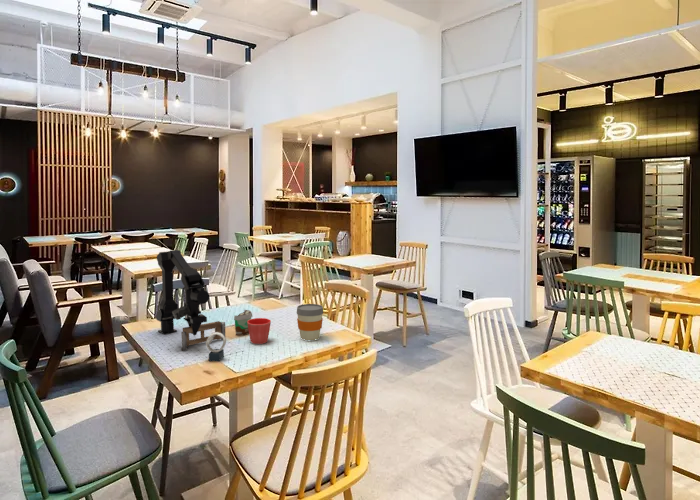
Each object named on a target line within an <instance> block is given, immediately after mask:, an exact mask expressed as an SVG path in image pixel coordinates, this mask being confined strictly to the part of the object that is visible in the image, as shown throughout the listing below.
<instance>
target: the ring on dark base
mask: <svg viewBox="0 0 700 500" xmlns="http://www.w3.org/2000/svg"><path fill="white" fill-rule="evenodd" d="M215 335H219V336H221V337H222V338H223V340H222V341H223V342H222V344H221V346H220V348H218V349H217V348H215V349H214V348H212V346H211V343H212V342H213V341H214V340H213V339H214V337H215ZM225 336H226V335H225ZM225 336H224V335H223V334H222V333H219V332H215V331H214V332H212V333H210V334H209V337H208V336H207V337H208V339H207V341H206V342H205V345H206V348H207V350H208V351H210V352H209V353H208V361H209V362H221V360H222V359H223V358H224V357H225V352H224V351H225V349H224V348H225V346H226V344H227V339H226V338H225Z"/></svg>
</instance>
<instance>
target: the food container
mask: <svg viewBox="0 0 700 500" xmlns="http://www.w3.org/2000/svg"><path fill="white" fill-rule="evenodd" d="M252 318H253V313H252V311H251V310H248V309H244V310H243V312H240V313H239V314H237V315H234V318H233V320H234V328H235V329H234V330H235V331H234V332H235V336H245V335H249V331H248V324H247V321H248V320H250V319H252Z"/></svg>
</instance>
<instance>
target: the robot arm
mask: <svg viewBox="0 0 700 500" xmlns="http://www.w3.org/2000/svg"><path fill="white" fill-rule="evenodd" d="M156 261H157V265H158V267H159V268H160V269H161V279H162V280H161V282H162V284H161V285H162V286H161V288H162V289H161V290H162V300H161V301H160V303H159V307H158V311H157V312H156V315H155V319H156V320H157V321H158V322H160V329H159V330H157V332H159V333H161V334H163V335H166V334H171V333H174V332H175V333H176V332H177V329H175V326H174V325H175V323H174V320H180V319H181V318H183V320H184V321H185V322H187V325H188V327H190V326H192V331H193V333H190V335H193V336H196V335H197V334H198V333H199V332H198V330H199V327H200V325H201V324H204V323H208V317H207V316H206V315H205V314H203V313H202V311H201V310H200V306H201V305H203V304H204V305H205V304H206V303H207V302H209V300H210V294H209V292H208V291H207V290H206V289H205V288H206V286H205V281H204V279H203V277H202V275H201V274H200V272H199V271H198V270H197V269H195V268H193V267H191V266H190V264H189V263H188V262H187V260H186V259H185V258H184V256H183V255H182V251H181V250H179V249H175V250H174V249H172V250H169V251H159V252H158V254H157V255H156ZM175 268H176V269H177V271H178V272H179V273H180V275H181V276H180V280H181V284H182V285H183V290H184V292H185V293H184V294H185V295H184V296H185V297H184V298H185V299H184V300H185V302H183V306H180V307H179V305H178V303H177V302H176V301H175V300H174V275H173V274H174V269H175Z"/></svg>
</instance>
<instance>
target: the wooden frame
mask: <svg viewBox="0 0 700 500" xmlns="http://www.w3.org/2000/svg"><path fill="white" fill-rule="evenodd" d="M221 322H222V321H220V320H218V321H214V322H205V323H201V325H200V327H199V330H198V332H197V333H199V332H200V338H193V339H190V334H191V333H193V331H192V326H190V327H189V326H185V327H182V332H186V340H187V347H189V346H193V345H198V344H202V343H206V341H207V339H208V337H209V336H210V335H209V336H205V331H208V330H213V329H214V333H215V332H219V333H221ZM217 340H218V341H219V340H221V336H219V335H215V337H214V339H213V340H212V341H217Z"/></svg>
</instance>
